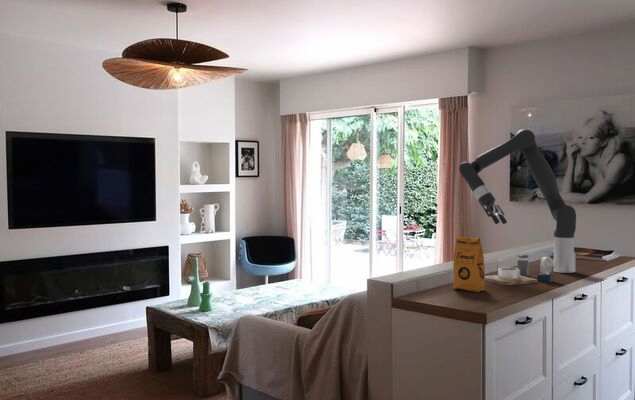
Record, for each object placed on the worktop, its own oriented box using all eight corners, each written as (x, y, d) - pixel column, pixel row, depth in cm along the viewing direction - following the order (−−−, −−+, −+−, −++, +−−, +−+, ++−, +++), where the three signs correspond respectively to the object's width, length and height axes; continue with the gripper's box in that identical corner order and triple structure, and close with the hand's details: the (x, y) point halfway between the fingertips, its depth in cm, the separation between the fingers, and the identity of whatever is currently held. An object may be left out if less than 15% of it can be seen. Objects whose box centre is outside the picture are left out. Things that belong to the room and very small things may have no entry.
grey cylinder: (523, 274, 276) (523, 254, 275) (530, 276, 271) (530, 255, 270) (514, 275, 274) (514, 254, 274) (521, 277, 269) (521, 255, 269)
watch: (555, 280, 259) (555, 256, 258) (548, 283, 253) (548, 258, 253) (542, 279, 263) (543, 255, 262) (535, 281, 257) (535, 257, 256)
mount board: (514, 277, 269) (514, 274, 269) (537, 283, 253) (537, 279, 253) (481, 279, 263) (481, 276, 263) (502, 285, 248) (502, 282, 248)
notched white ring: (511, 275, 264) (511, 267, 264) (523, 279, 255) (523, 270, 255) (494, 276, 261) (494, 268, 261) (506, 280, 253) (506, 271, 252)
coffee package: (476, 293, 230) (476, 239, 230) (449, 289, 239) (450, 236, 239) (489, 290, 237) (489, 237, 237) (462, 286, 246) (462, 235, 246)
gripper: (483, 191, 279) (501, 218, 272) (496, 192, 289) (513, 219, 283) (471, 200, 283) (489, 227, 276) (484, 201, 293) (501, 227, 287)
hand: (501, 223), depth 280 cm, fingers open, 8 cm apart
